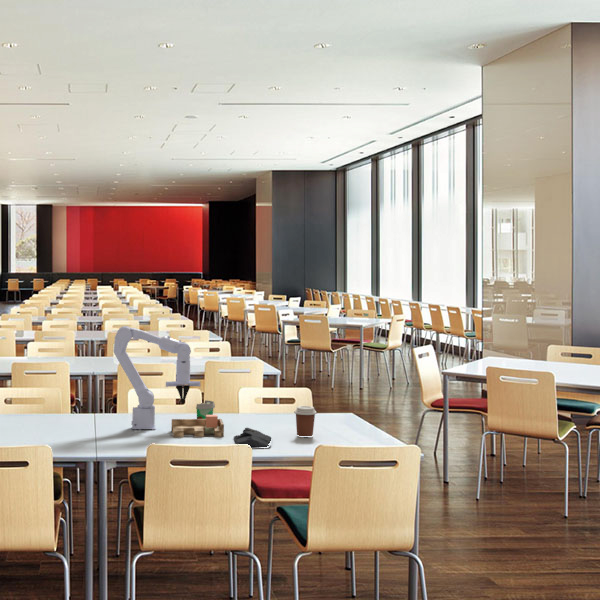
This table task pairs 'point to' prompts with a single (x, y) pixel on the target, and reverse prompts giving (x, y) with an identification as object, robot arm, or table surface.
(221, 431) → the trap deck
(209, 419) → the clay-red block
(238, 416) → the table surface
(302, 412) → the coffee cup
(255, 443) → the dark slate chunk
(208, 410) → the food container
